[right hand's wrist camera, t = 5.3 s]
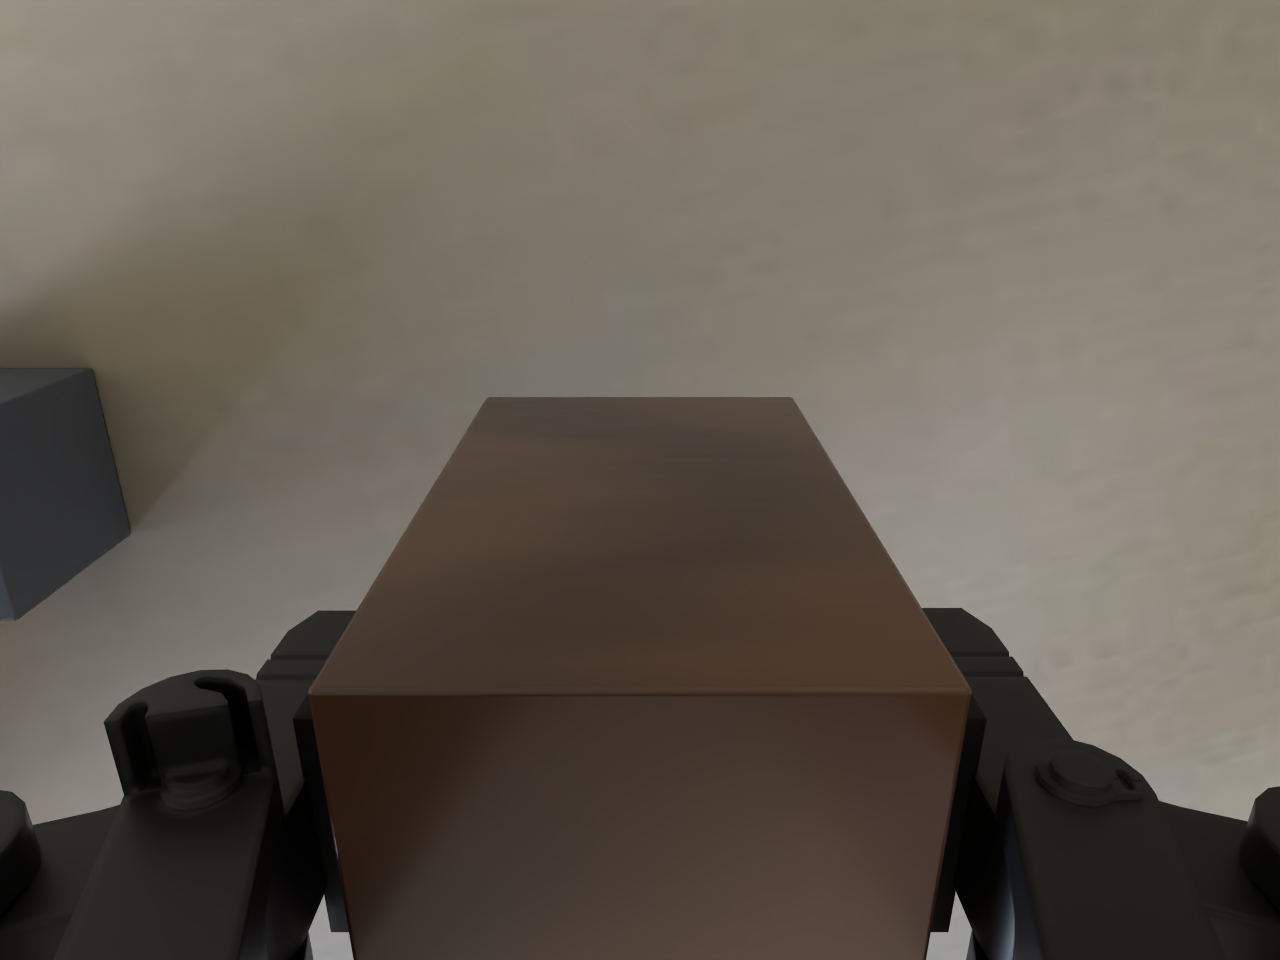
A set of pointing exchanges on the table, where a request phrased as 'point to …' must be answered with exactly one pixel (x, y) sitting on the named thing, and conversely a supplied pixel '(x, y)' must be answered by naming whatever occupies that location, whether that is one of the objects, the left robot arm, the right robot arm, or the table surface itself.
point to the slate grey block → (53, 484)
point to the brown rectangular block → (639, 702)
